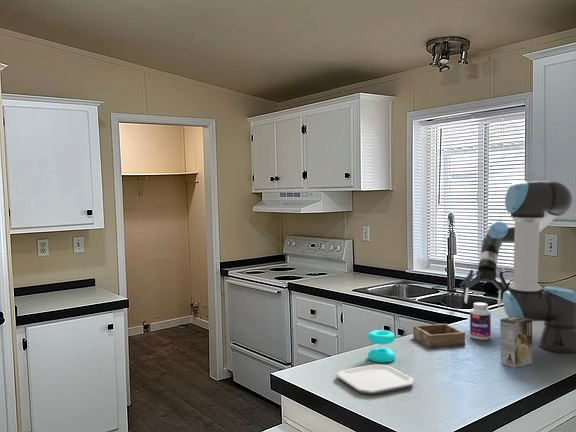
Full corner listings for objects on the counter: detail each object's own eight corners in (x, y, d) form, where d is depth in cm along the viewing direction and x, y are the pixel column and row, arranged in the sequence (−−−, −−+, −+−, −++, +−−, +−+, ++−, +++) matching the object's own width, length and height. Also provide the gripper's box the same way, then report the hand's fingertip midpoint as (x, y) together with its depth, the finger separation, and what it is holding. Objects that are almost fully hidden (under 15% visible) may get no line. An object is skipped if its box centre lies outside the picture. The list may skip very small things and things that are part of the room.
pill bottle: (469, 339, 216) (469, 305, 215) (470, 334, 223) (470, 301, 223) (490, 341, 213) (490, 306, 212) (490, 336, 220) (490, 302, 220)
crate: (465, 345, 208) (465, 332, 208) (430, 348, 205) (430, 335, 205) (446, 335, 223) (446, 323, 223) (413, 337, 220) (413, 326, 220)
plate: (364, 400, 157) (364, 392, 157) (331, 378, 176) (331, 371, 175) (420, 388, 165) (420, 381, 165) (383, 368, 184) (383, 362, 184)
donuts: (399, 335, 189) (373, 337, 187) (399, 362, 189) (373, 364, 187) (388, 328, 198) (363, 330, 196) (388, 354, 199) (364, 356, 197)
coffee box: (517, 359, 191) (517, 315, 190) (532, 364, 185) (533, 319, 184) (499, 363, 186) (499, 318, 186) (515, 368, 181) (515, 322, 180)
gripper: (518, 270, 233) (514, 310, 220) (460, 267, 245) (453, 305, 233) (517, 260, 228) (512, 300, 215) (458, 257, 240) (450, 295, 228)
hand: (481, 303), depth 224 cm, fingers open, 13 cm apart
